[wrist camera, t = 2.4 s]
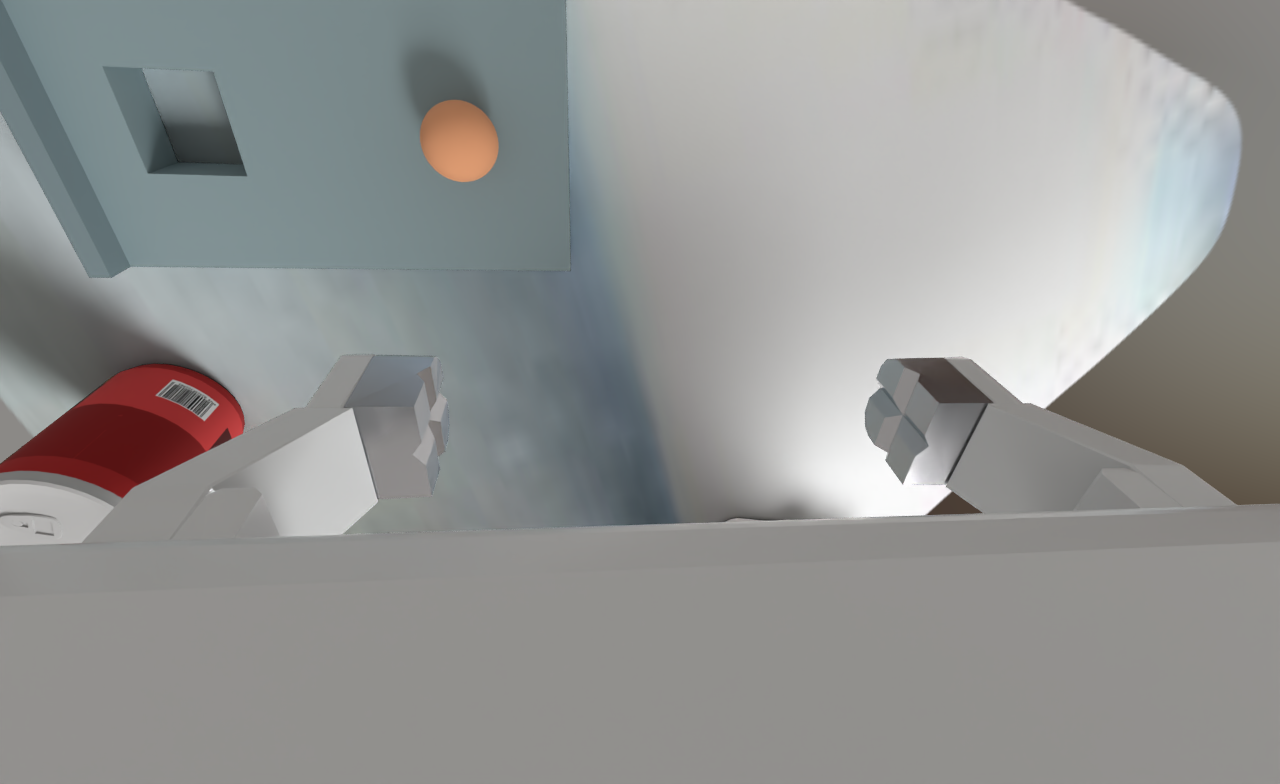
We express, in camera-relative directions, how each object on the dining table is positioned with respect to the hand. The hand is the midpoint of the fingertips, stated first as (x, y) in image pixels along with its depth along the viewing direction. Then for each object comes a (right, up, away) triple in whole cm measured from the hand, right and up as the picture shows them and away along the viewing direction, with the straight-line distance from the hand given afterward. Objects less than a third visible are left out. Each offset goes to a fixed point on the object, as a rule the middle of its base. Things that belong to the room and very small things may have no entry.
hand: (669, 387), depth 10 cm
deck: (-16, +14, +18) cm, 28 cm away
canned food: (-31, -1, +27) cm, 41 cm away
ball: (-9, +12, +16) cm, 21 cm away
